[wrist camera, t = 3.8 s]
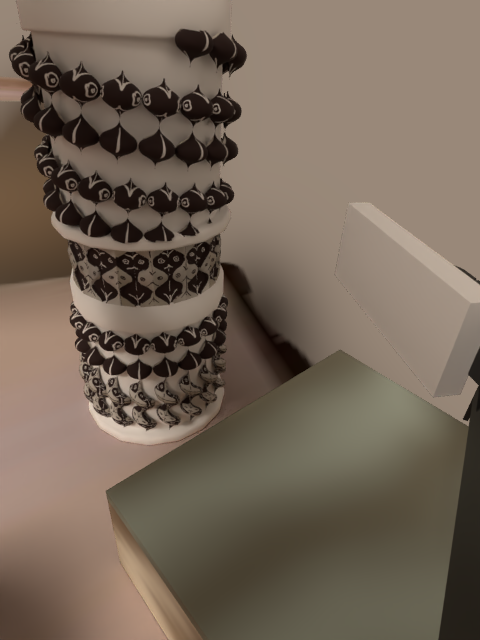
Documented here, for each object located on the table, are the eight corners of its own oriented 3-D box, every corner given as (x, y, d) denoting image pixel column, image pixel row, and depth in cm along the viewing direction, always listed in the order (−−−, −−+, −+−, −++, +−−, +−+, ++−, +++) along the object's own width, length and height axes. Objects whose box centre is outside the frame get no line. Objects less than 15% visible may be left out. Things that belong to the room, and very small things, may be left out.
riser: (120, 562, 19) (105, 490, 16) (325, 413, 27) (340, 349, 24) (376, 971, 11) (437, 971, 8) (559, 585, 19) (621, 518, 16)
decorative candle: (200, 338, 33) (199, -123, 19) (254, 422, 26) (313, -206, 12) (73, 366, 29) (-40, -171, 16) (96, 472, 22) (-71, -327, 9)
